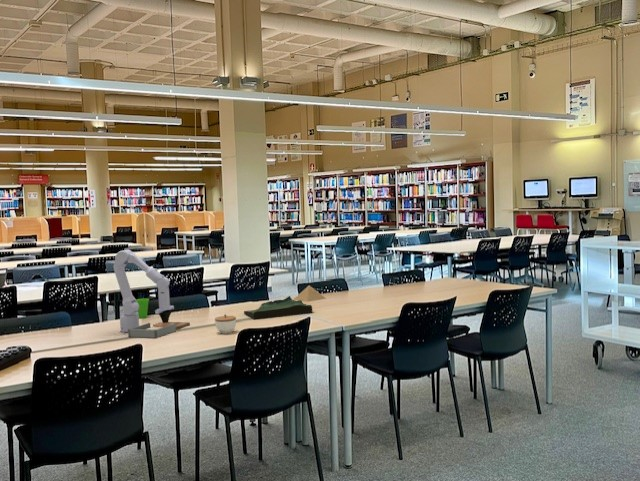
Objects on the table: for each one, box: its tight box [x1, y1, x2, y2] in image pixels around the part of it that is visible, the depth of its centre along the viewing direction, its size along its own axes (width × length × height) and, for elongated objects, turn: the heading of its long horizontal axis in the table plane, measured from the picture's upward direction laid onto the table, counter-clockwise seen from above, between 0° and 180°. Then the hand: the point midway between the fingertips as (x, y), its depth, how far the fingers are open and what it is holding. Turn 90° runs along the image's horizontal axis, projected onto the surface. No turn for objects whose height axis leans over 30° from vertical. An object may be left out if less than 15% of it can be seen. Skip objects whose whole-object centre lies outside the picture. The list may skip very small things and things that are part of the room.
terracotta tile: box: [152, 321, 169, 328], centre depth 322 cm, size 6×6×2 cm
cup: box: [135, 298, 150, 319], centre depth 365 cm, size 9×9×11 cm
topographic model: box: [243, 295, 313, 321], centre depth 360 cm, size 36×22×10 cm, turn 112°
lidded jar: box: [214, 313, 237, 335], centre depth 311 cm, size 11×11×9 cm
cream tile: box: [146, 326, 162, 330], centre depth 317 cm, size 6×6×2 cm
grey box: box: [127, 322, 177, 339], centre depth 315 cm, size 17×17×4 cm
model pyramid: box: [292, 285, 327, 303], centre depth 412 cm, size 17×17×10 cm
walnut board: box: [168, 321, 191, 331], centre depth 330 cm, size 14×16×2 cm
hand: (165, 324), depth 326 cm, fingers closed
